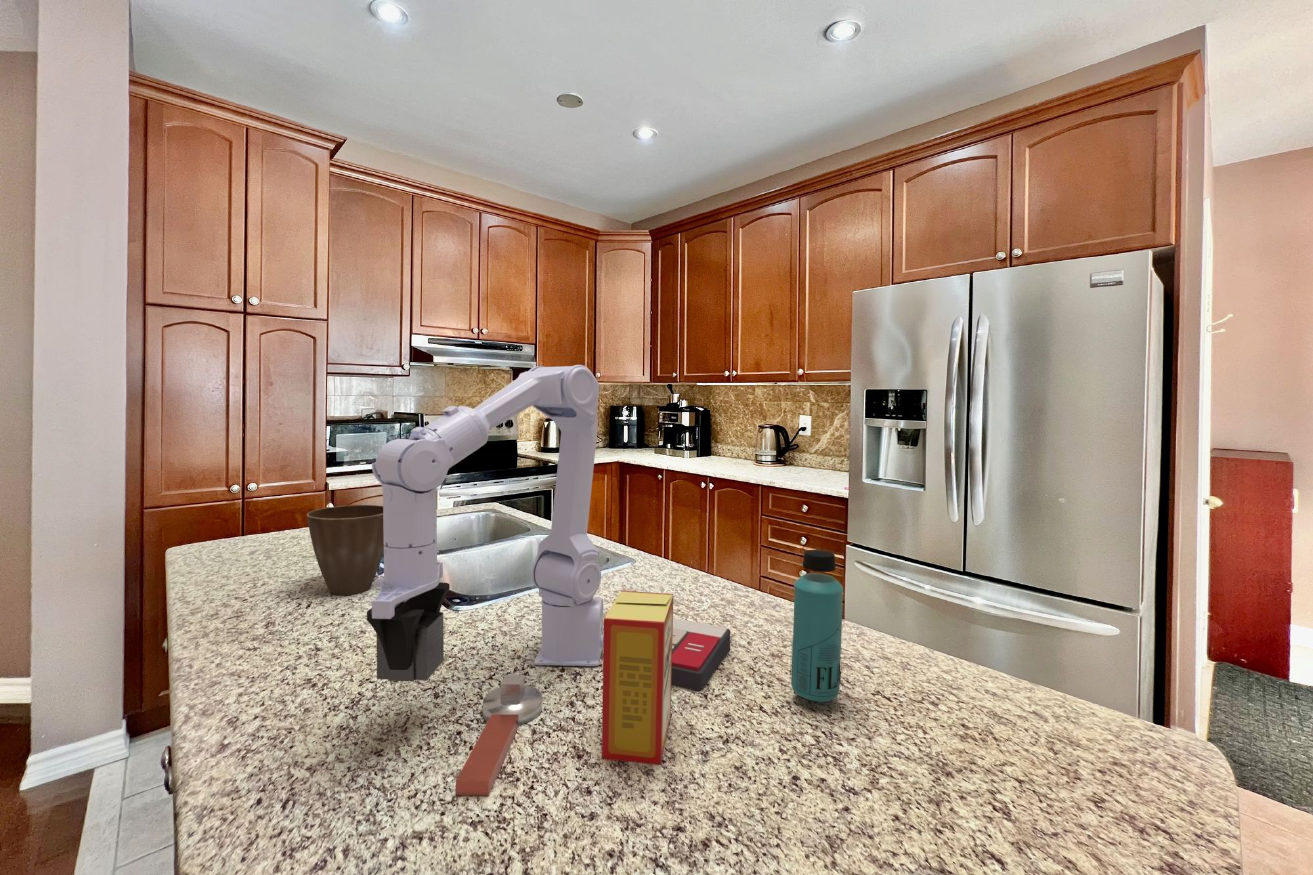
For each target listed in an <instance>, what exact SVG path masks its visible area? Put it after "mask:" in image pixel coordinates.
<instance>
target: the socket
mask: <svg viewBox="0 0 1313 875" xmlns="http://www.w3.org/2000/svg"><path fill="white" fill-rule="evenodd" d="M444 635H445V634H444V612H441V611H440V612H433V611H424V612H423V614H422V616H421V618H420V620H419V623H418V626H417V629H416V633H415V638H414V646H413V655H412V660H411V664H410V667H409V668H408V670H390V669H389V666H388V663H387V660H386V657H385V653H384V650H383V647H382V644H381V641H380V639H379V637H378V635H377V634H376V680H387V681H388V682H415V681H428V680H429V679H430V678H431V676H433V674H434V672H436V671H437V669H438V668H439V667H440V666H441V664H442V663H443V662H444V658H445V657H444V654H445V653H444V647H445V646H444V645H445V644H444V640H445V639H444Z"/></svg>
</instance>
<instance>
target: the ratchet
mask: <svg viewBox="0 0 1313 875" xmlns="http://www.w3.org/2000/svg"><path fill="white" fill-rule="evenodd" d="M525 676H526V675H525V674H505V675H504V677H503V679H502V681H501V683H500V687H498V688H496V689H493V690H492V691H490V692H489V693H487V694H486V695H485V697H483V700H482V717H483V719H484V721H485V722H486V724H485V726H484V728H483V730H482V731H481V733H480V735H479V737H478V739H477V741H476V743H475V745H474V746H473V748H472V750H471V752H470V754H469V756H468V758H467V759H466V762H465V763H464V765H463V766H462V769H461V770H460V773H459V774H458V776H457V778H456V780H455V796H467V797H468V796H470V797H473V796H474V797H476V796H478V797H480V796H481V797H489V796H490V793H491V791H492V789H493V787H494V784H495V782H496V780H497V777H498V775H499V773H500V770H501V767H502V765H503V764H504V761H505V758H506V757H507V754H508V752H509V749H510V747H511V745H512V742H513V741H514V738H515V736H516V733H517V731H518V729H519V726H522V725H524V724H527V723H529V722H531V721H533V720H535V719H536V718H537V717H538V716H539V715H540V714H541V712H542V709H543V694H542V692H541V691H540V690H539V689H537V688H536V687H534V686H531V685H526V684H525V683H526V682H525V680H526V678H525Z"/></svg>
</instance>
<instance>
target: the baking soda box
mask: <svg viewBox="0 0 1313 875" xmlns="http://www.w3.org/2000/svg"><path fill="white" fill-rule="evenodd" d="M673 618H674V593H665V592H664V593H663V592H647V591H636V590H635V591H634V590H633V591H631V590H620V592H619V594H618V595H617V596H616V598H615V600H614V602H613V603H612V605H611V606H610V608H609V609H608V611H607V613H606V615H605V616H604V617H603V635H604V637H603V648H602V652H603V653H602V656H603V657H602V714H601V715H602V716H601V718H602V720H601V721H602V722H601V725H602V726H601V732H602V733H601V759H603V760H610V761H611V760H613V761H621V762H630V763H631V762H632V763H640V764H641V763H642V764H650V765H659V766H661V765H662V761H663V756H664V752H665V746H666V742H667V737H668V732H669V727H670V723H671V718H672V685H671V683H672V636H673Z"/></svg>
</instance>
